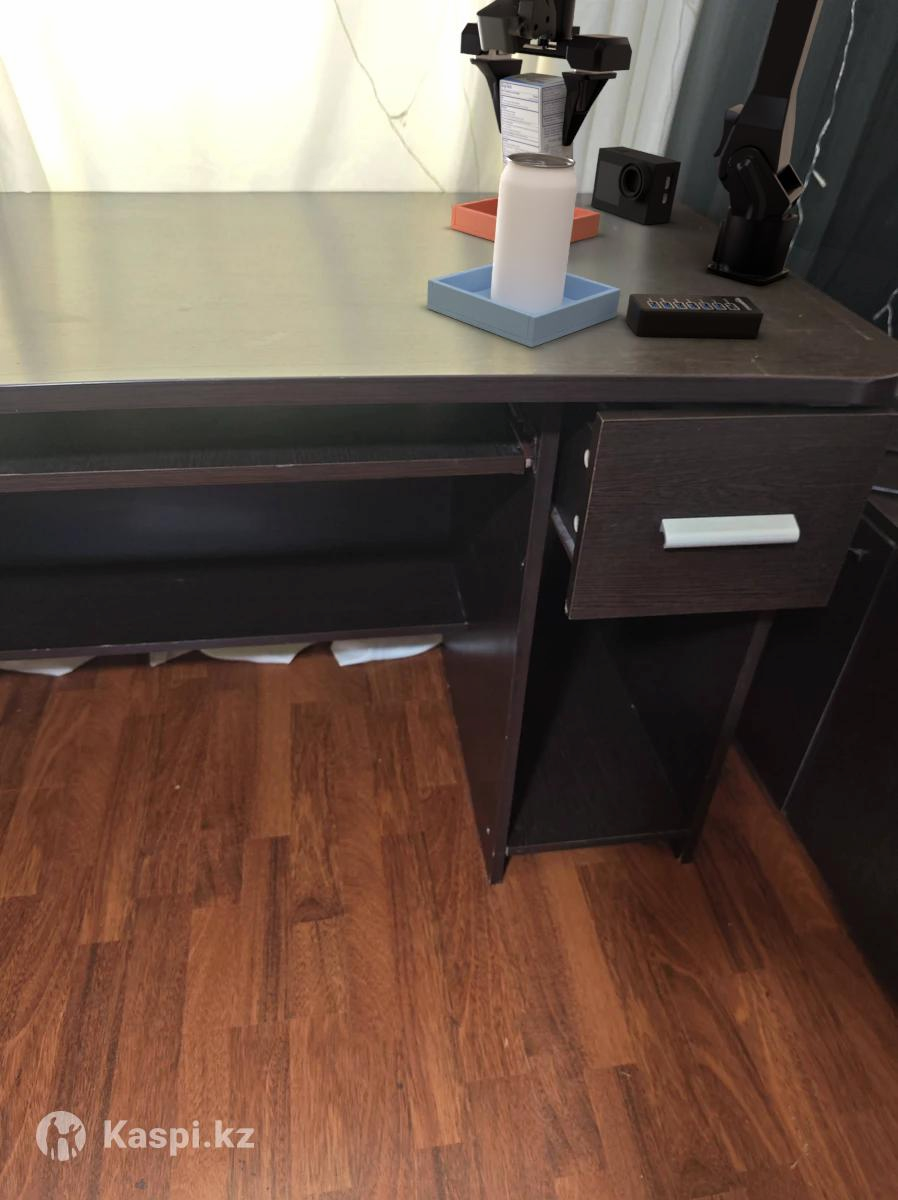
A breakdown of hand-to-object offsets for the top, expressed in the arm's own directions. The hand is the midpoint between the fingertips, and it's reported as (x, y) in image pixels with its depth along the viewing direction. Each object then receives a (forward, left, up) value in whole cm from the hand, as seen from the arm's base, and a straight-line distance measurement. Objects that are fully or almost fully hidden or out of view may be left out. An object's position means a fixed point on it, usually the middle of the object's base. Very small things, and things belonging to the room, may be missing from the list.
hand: (534, 139), depth 94 cm
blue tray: (-18, +22, -10) cm, 30 cm away
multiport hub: (-30, +13, -10) cm, 34 cm away
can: (-18, +22, -9) cm, 30 cm away
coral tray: (0, 0, -10) cm, 10 cm away
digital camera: (-2, -18, -10) cm, 21 cm away
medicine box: (0, -1, -3) cm, 3 cm away
